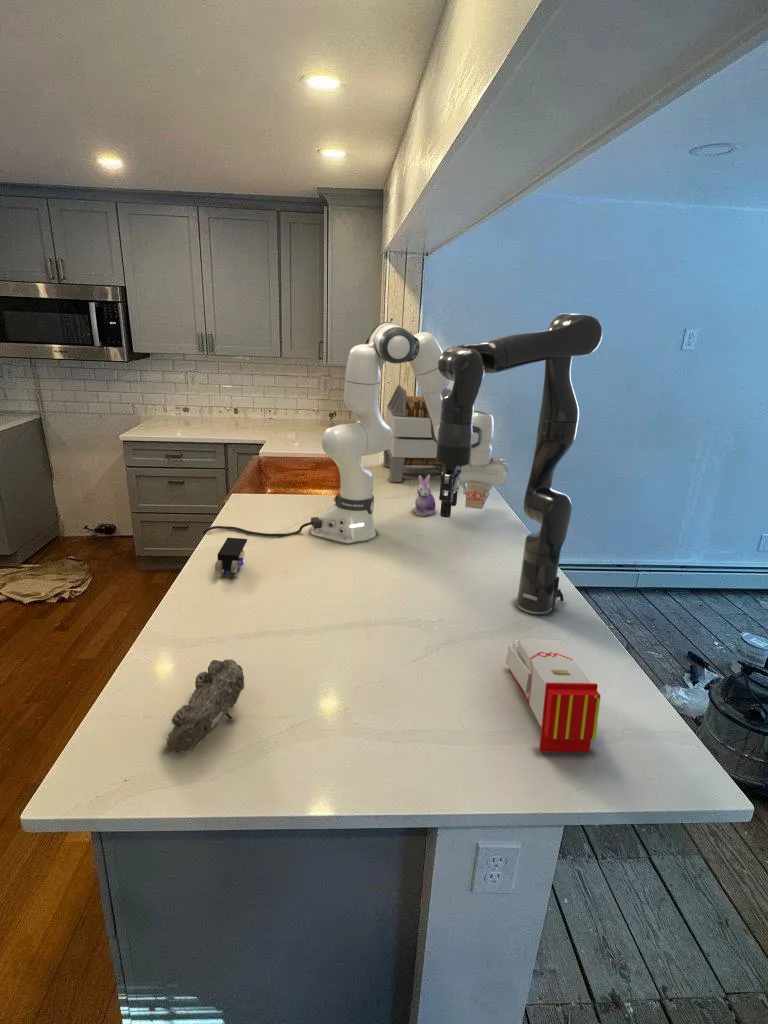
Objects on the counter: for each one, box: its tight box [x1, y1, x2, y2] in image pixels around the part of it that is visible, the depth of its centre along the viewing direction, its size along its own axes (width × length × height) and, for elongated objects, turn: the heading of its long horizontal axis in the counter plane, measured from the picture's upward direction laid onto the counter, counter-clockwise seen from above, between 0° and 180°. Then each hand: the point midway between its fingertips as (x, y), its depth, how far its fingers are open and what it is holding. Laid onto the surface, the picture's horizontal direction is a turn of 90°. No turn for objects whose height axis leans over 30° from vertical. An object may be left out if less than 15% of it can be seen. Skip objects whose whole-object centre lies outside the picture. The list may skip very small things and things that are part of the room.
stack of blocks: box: [464, 482, 491, 510], centre depth 210 cm, size 21×6×12 cm, turn 163°
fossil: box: [166, 658, 245, 754], centre depth 106 cm, size 22×10×15 cm
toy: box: [505, 638, 602, 753], centre depth 114 cm, size 12×13×30 cm
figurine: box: [413, 474, 436, 517], centre depth 219 cm, size 9×10×15 cm
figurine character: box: [214, 537, 248, 578], centre depth 166 cm, size 7×8×15 cm
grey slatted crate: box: [383, 384, 452, 483], centre depth 268 cm, size 34×33×41 cm
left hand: (475, 495), depth 204 cm, fingers closed on stack of blocks, 6 cm apart
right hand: (448, 510), depth 130 cm, fingers open, 8 cm apart
